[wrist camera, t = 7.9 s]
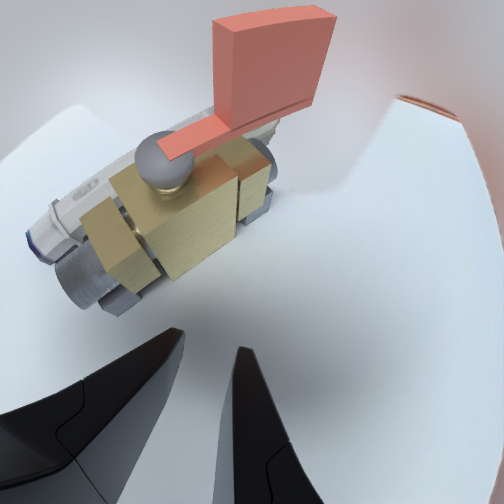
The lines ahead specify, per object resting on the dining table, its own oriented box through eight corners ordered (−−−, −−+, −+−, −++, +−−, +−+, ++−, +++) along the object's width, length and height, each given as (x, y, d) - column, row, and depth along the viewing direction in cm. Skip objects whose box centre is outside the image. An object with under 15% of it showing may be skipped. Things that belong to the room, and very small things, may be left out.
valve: (111, 325, 20) (47, 299, 12) (86, 278, 21) (23, 232, 13) (273, 211, 25) (293, 136, 16) (239, 175, 26) (244, 95, 17)
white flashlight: (19, 215, 19) (256, 58, 22) (60, 239, 25) (258, 105, 29) (31, 264, 18) (295, 86, 21) (76, 281, 24) (290, 135, 27)
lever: (153, 197, 14) (112, 86, 7) (130, 160, 14) (92, 57, 8) (317, 115, 17) (347, 22, 10) (287, 89, 17) (305, 0, 11)
